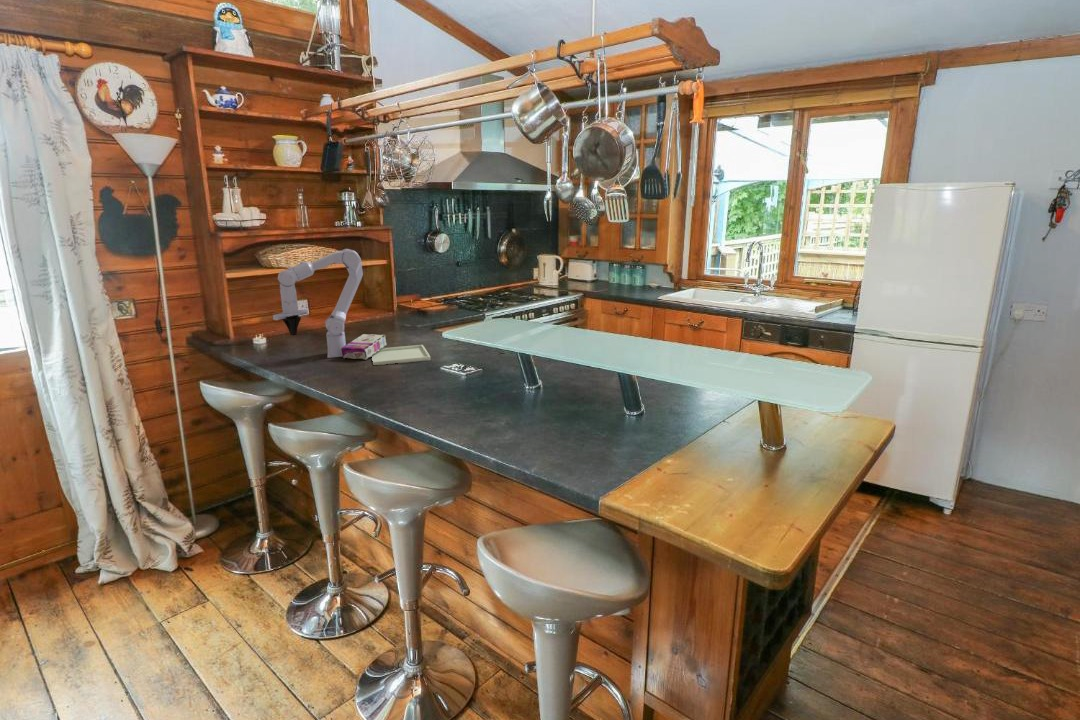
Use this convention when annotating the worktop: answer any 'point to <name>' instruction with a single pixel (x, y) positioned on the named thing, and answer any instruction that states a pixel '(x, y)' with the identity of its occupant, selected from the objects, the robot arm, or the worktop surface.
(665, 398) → the worktop surface
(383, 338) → the candy bar box
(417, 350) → the tray
